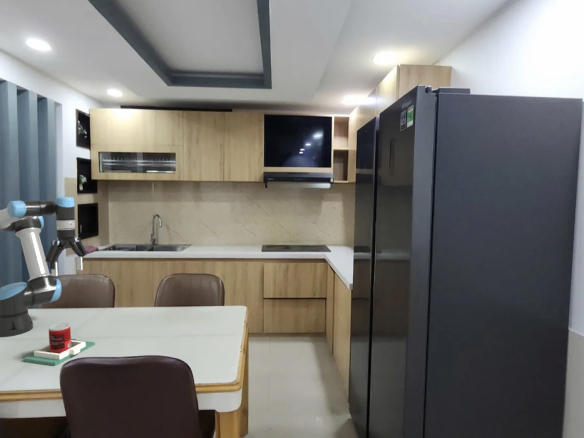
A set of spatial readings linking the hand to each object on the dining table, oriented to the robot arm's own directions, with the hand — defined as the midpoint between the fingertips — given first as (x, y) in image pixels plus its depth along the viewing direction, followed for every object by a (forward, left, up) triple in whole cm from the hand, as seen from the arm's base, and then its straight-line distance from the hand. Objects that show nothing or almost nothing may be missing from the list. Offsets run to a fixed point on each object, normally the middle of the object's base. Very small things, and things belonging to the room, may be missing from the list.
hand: (67, 272), depth 167 cm
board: (+14, -17, -31) cm, 38 cm away
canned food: (+14, -18, -30) cm, 37 cm away
